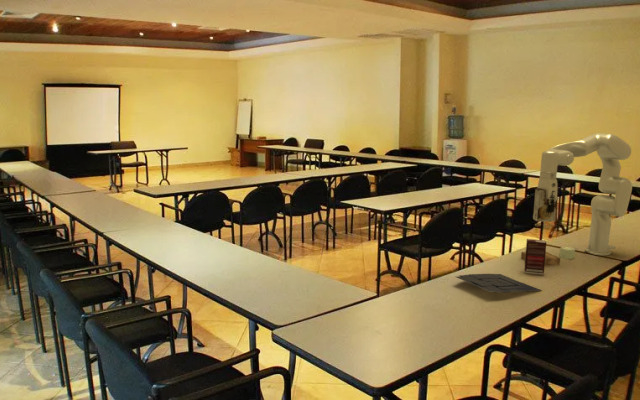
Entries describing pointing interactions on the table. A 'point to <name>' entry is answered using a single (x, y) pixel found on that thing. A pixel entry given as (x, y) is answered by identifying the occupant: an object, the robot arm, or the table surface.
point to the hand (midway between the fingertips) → (544, 210)
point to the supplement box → (535, 256)
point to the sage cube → (567, 253)
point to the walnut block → (546, 259)
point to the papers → (496, 283)
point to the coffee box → (543, 207)
